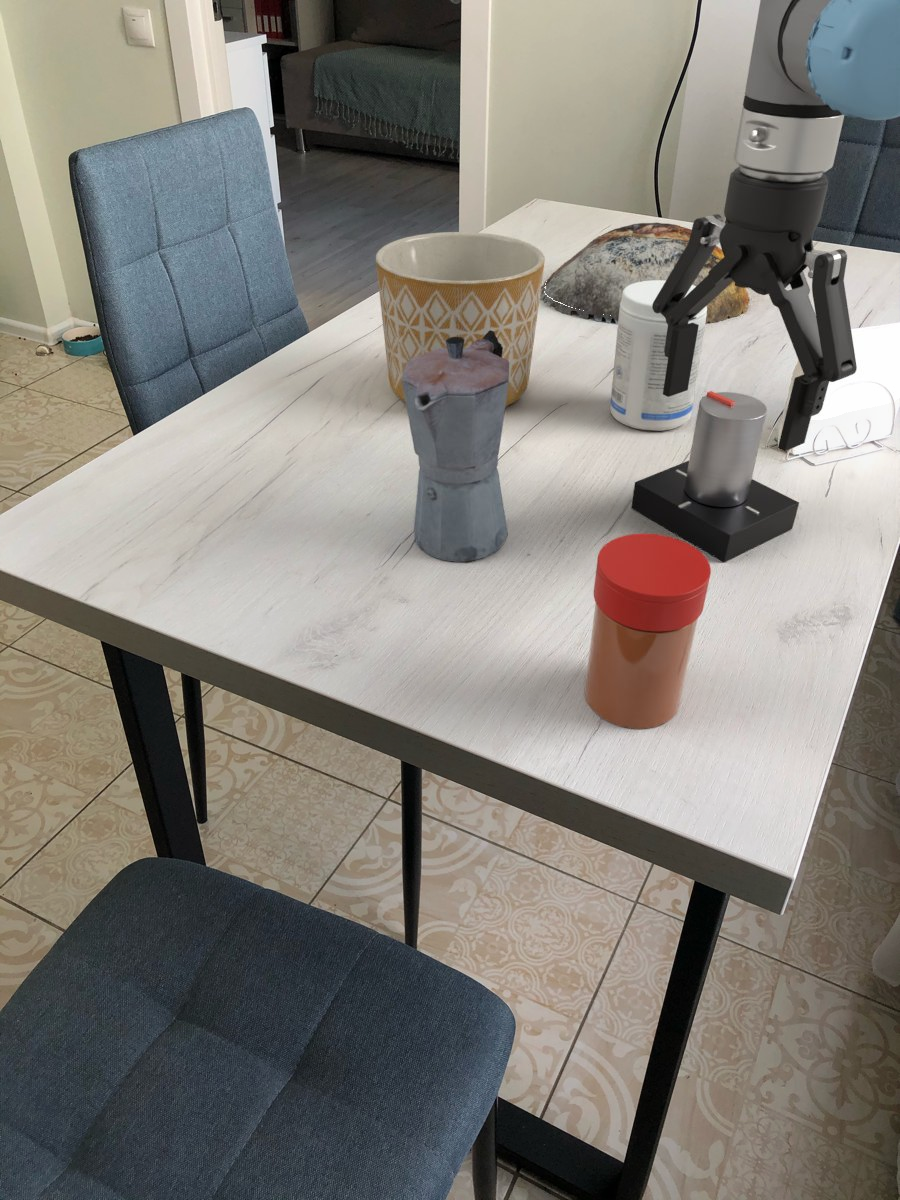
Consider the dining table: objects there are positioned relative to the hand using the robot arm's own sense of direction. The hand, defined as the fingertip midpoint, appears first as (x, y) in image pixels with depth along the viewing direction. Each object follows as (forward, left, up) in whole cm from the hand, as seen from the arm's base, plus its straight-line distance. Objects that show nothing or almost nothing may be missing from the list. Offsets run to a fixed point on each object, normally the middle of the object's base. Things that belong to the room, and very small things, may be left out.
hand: (730, 418), depth 86 cm
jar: (-14, +25, -11) cm, 31 cm away
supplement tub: (+20, -12, -11) cm, 26 cm away
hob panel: (0, 0, -11) cm, 11 cm away
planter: (+39, +2, -11) cm, 40 cm away
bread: (+51, -43, -11) cm, 67 cm away
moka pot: (+12, +22, -11) cm, 27 cm away
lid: (-14, +25, +1) cm, 29 cm away
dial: (0, 0, -8) cm, 8 cm away
